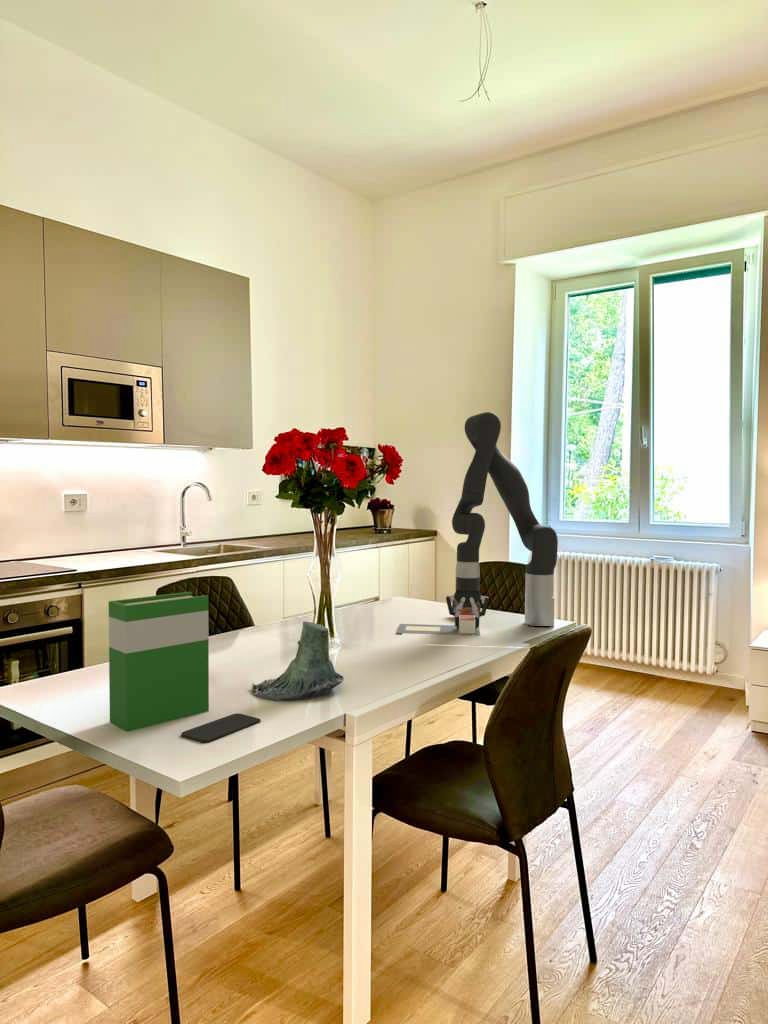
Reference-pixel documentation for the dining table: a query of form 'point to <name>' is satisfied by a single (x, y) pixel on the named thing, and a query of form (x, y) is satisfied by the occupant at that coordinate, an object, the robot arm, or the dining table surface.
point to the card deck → (466, 623)
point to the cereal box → (158, 659)
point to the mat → (432, 629)
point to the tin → (465, 610)
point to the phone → (220, 728)
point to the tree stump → (304, 670)
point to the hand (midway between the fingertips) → (466, 628)
